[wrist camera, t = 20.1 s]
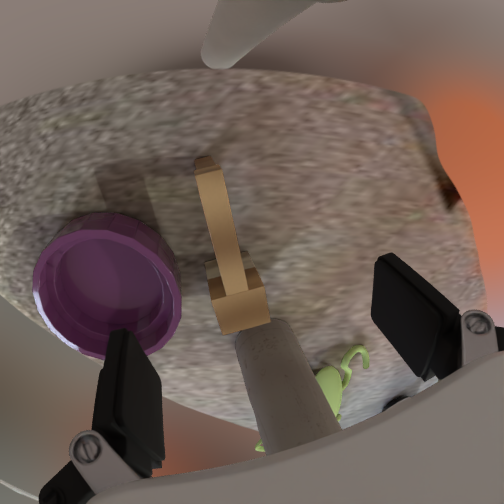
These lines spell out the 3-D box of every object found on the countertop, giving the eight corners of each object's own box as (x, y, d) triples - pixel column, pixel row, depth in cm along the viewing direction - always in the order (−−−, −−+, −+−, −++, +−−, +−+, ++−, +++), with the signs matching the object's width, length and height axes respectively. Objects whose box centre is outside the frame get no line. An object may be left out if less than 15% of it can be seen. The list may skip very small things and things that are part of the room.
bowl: (28, 235, 25) (8, 256, 21) (155, 191, 27) (150, 207, 23) (85, 341, 33) (78, 369, 29) (196, 315, 35) (200, 344, 30)
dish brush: (177, 164, 27) (175, 180, 20) (227, 151, 27) (241, 164, 21) (213, 294, 34) (222, 335, 28) (254, 283, 34) (270, 322, 28)
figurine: (246, 439, 52) (253, 462, 47) (266, 352, 40) (277, 382, 35) (328, 424, 56) (337, 443, 51) (373, 337, 45) (390, 360, 40)
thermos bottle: (262, 367, 42) (329, 545, 17) (222, 346, 38) (281, 559, 14) (303, 334, 40) (398, 514, 16) (266, 308, 36) (367, 529, 12)
